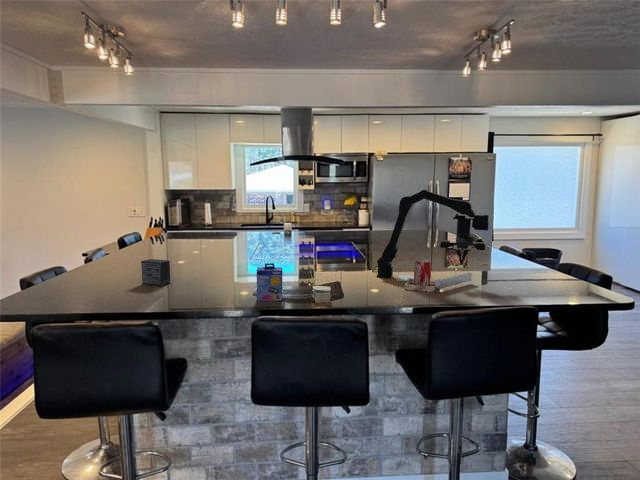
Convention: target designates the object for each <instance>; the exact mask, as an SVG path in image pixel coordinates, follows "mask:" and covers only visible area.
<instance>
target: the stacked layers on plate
mask: <svg viewBox="0 0 640 480" xmlns="http://www.w3.org/2000/svg"><path fill="white" fill-rule="evenodd" d="M312 288H313V289H312V290H311V291H312V295H311V296H312V297H313V298H314V299H315V301H314V302H315V303H317V304H321V303H330V299H331V298H332V297H331V294H332V292H331V289H332V288H331V286H325V285H324V286H322V285H314V286H312Z"/></svg>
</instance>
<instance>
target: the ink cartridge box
mask: <svg viewBox="0 0 640 480" xmlns="http://www.w3.org/2000/svg"><path fill="white" fill-rule="evenodd" d="M282 300H283V267H282V266H281V267H280V266H275V263H274V262H272V263H270V262H269V263H264V267H263V266H261V267H257V268H256V301H257V302H259V301H260V302H261V301H263V302H265V301H267V302H269V301H270V302H272V301H273V302H274V301H276V302H277V301H282Z"/></svg>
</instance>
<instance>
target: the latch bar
mask: <svg viewBox="0 0 640 480" xmlns="http://www.w3.org/2000/svg"><path fill="white" fill-rule="evenodd" d="M472 275H473V274H472V272H466V273H465V272H464V273H461V274H457V275H453V276H449V277H444V278H440V279H436V280H435V279H434V280H435V285H434V289H440V290H441V289H444V288H448V287H453V286H456V285H459V284H460V285H461V284H463V283H468V282H471V281H472Z"/></svg>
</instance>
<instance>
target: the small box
mask: <svg viewBox="0 0 640 480" xmlns="http://www.w3.org/2000/svg"><path fill="white" fill-rule="evenodd" d="M170 262H171V261H170V260H168V259H157V258H155V259H154V258H148V259H145V260H140V263H141V264H140V265H141V284H142V285H146V286H154V287H155V286H156V287H163V286H166V285H169V284H171V269H170V268H171V265H170Z"/></svg>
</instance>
